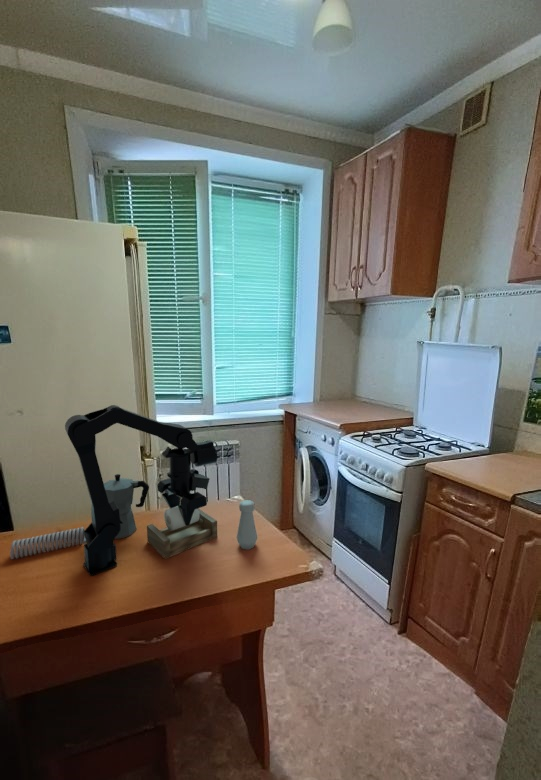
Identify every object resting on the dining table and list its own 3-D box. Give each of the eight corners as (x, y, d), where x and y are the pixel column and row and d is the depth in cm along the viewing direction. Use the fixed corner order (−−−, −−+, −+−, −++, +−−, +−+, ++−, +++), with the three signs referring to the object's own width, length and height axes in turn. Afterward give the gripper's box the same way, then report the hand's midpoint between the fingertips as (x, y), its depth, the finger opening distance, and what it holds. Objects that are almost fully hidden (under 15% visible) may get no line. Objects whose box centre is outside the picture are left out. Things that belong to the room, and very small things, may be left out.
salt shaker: (232, 547, 102) (232, 503, 100) (243, 537, 107) (243, 496, 105) (250, 553, 99) (250, 508, 98) (261, 543, 104) (261, 500, 103)
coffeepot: (92, 541, 105) (88, 481, 103) (102, 524, 114) (98, 470, 112) (148, 537, 107) (145, 478, 105) (153, 521, 117) (150, 467, 114)
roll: (174, 534, 101) (173, 514, 100) (164, 526, 105) (163, 506, 104) (200, 524, 106) (199, 505, 105) (189, 516, 111) (189, 498, 110)
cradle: (164, 559, 97) (164, 541, 96) (147, 541, 105) (146, 525, 104) (217, 536, 108) (217, 520, 107) (198, 522, 116) (197, 507, 115)
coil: (7, 548, 94) (85, 532, 102) (11, 537, 98) (85, 522, 106) (10, 563, 95) (86, 546, 103) (13, 552, 100) (86, 536, 108)
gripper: (222, 471, 102) (223, 524, 104) (189, 455, 116) (190, 502, 118) (187, 481, 94) (188, 538, 97) (155, 463, 108) (157, 512, 110)
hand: (182, 521), depth 106 cm, fingers closed on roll, 6 cm apart
